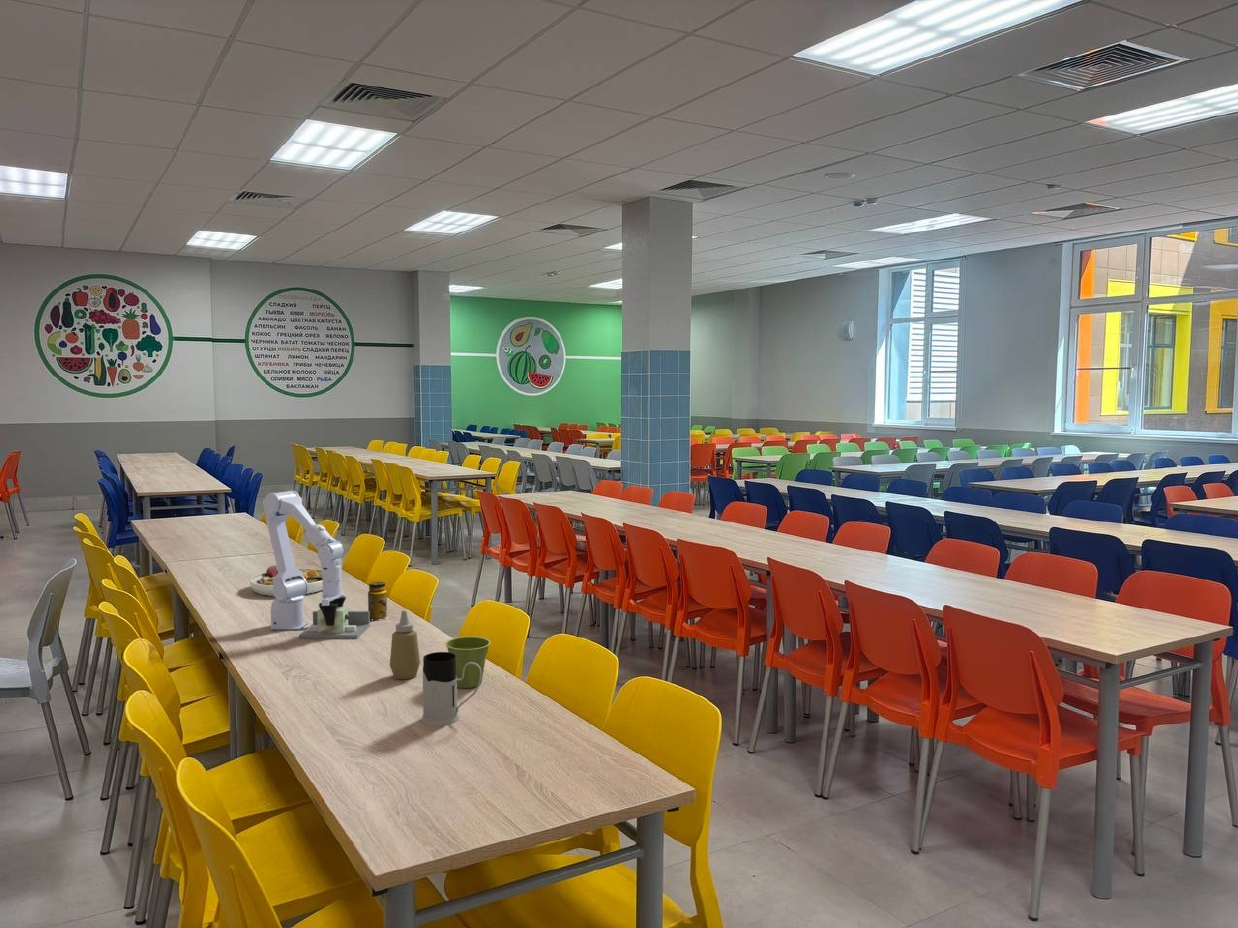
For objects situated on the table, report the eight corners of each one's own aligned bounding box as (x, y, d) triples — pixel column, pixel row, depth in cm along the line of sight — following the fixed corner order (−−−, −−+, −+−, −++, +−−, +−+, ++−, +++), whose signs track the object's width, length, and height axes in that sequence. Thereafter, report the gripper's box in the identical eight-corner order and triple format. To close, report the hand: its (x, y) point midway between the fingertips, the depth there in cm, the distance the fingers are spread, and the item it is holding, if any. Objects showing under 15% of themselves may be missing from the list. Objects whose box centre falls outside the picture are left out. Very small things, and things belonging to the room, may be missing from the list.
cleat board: (299, 638, 267) (298, 622, 266) (314, 625, 281) (314, 610, 280) (357, 638, 267) (357, 622, 267) (369, 626, 281) (369, 611, 280)
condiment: (390, 618, 290) (390, 583, 289) (365, 622, 285) (365, 586, 284) (383, 614, 296) (383, 579, 295) (359, 617, 292) (358, 582, 290)
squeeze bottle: (426, 673, 235) (425, 608, 233) (409, 682, 227) (408, 616, 226) (400, 670, 238) (399, 606, 236) (383, 679, 230) (382, 613, 228)
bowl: (350, 587, 337) (349, 567, 336) (283, 602, 312) (283, 581, 311) (300, 577, 353) (299, 558, 352) (233, 592, 328) (233, 571, 327)
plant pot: (476, 694, 219) (476, 651, 218) (436, 688, 223) (436, 646, 222) (499, 679, 230) (498, 638, 229) (460, 674, 234) (459, 634, 233)
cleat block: (317, 632, 269) (317, 610, 269) (323, 628, 274) (322, 606, 274) (346, 632, 269) (345, 611, 269) (351, 628, 274) (350, 606, 274)
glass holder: (426, 711, 207) (425, 650, 206) (485, 712, 207) (484, 651, 206) (416, 725, 199) (416, 662, 197) (478, 726, 198) (477, 663, 197)
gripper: (337, 585, 263) (338, 629, 264) (351, 575, 278) (352, 616, 279) (314, 585, 263) (315, 628, 264) (329, 575, 277) (330, 616, 279)
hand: (333, 622), depth 271 cm, fingers open, 5 cm apart
